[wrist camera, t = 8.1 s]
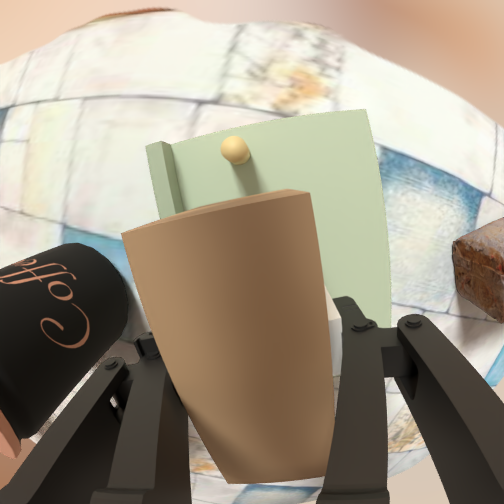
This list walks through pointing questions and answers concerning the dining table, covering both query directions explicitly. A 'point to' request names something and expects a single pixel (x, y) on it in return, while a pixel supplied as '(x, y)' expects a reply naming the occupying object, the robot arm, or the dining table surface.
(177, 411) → the robot arm
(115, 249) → the dining table surface
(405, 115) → the dining table surface
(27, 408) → the coffee jar
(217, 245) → the brown box-like piece
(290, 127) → the ledge board
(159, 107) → the dining table surface
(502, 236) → the food item
